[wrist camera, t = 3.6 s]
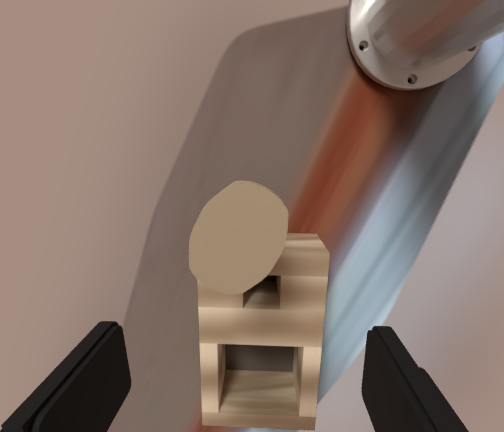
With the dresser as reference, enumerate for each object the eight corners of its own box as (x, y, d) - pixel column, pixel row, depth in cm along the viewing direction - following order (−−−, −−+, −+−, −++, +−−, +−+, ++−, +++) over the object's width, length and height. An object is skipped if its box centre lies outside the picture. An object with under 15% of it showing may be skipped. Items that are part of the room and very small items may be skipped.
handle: (283, 181, 28) (306, 210, 14) (255, 231, 30) (249, 307, 15) (243, 159, 28) (223, 166, 13) (216, 212, 29) (172, 269, 15)
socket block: (209, 231, 30) (196, 250, 24) (316, 233, 30) (330, 253, 24) (212, 379, 35) (202, 425, 29) (305, 382, 34) (314, 430, 28)
